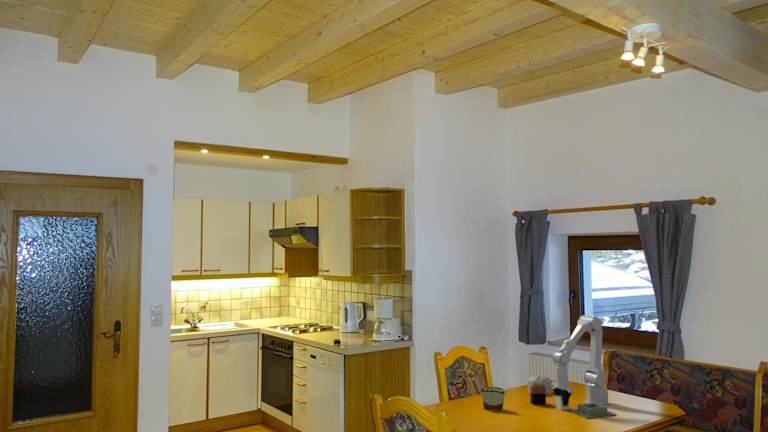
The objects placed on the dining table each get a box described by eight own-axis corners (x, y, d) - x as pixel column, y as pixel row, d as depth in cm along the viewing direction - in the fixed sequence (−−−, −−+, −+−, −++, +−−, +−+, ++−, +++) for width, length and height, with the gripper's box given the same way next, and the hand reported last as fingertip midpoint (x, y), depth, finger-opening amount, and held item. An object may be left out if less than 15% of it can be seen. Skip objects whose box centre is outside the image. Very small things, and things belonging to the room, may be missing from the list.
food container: (508, 408, 286) (508, 387, 287) (505, 411, 281) (505, 390, 281) (484, 405, 291) (483, 385, 292) (480, 408, 286) (480, 388, 286)
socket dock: (596, 407, 285) (596, 400, 285) (616, 415, 272) (616, 407, 272) (569, 411, 280) (568, 403, 280) (587, 418, 267) (587, 410, 267)
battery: (546, 404, 292) (545, 384, 293) (532, 405, 292) (532, 385, 292) (543, 402, 296) (542, 382, 297) (530, 402, 296) (529, 383, 297)
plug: (564, 407, 287) (564, 394, 288) (569, 409, 283) (569, 396, 284) (555, 408, 286) (555, 395, 286) (560, 410, 282) (560, 397, 282)
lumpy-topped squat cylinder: (525, 391, 322) (525, 375, 322) (547, 389, 324) (547, 374, 325) (534, 395, 311) (533, 379, 312) (556, 394, 314) (556, 377, 314)
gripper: (546, 374, 291) (546, 401, 290) (563, 380, 277) (564, 409, 277) (558, 373, 293) (558, 400, 293) (576, 379, 280) (577, 407, 279)
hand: (562, 404), depth 285 cm, fingers closed on plug, 4 cm apart
